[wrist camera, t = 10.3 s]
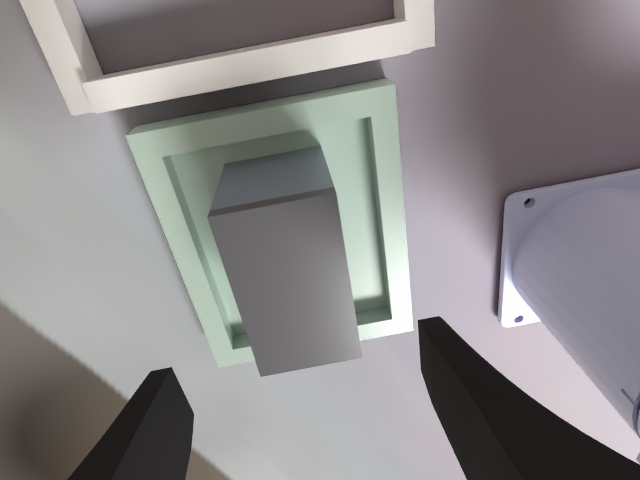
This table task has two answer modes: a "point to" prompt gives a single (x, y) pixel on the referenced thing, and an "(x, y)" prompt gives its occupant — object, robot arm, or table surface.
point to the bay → (213, 57)
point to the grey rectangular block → (286, 259)
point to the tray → (272, 138)
